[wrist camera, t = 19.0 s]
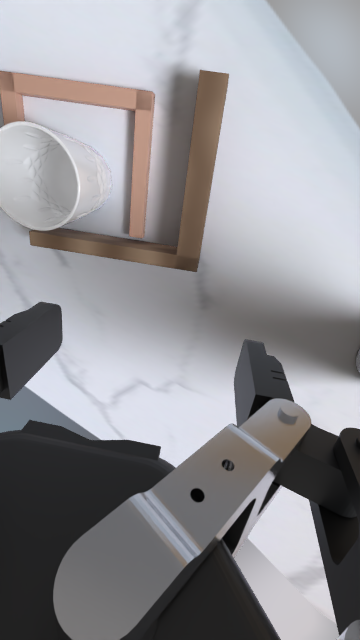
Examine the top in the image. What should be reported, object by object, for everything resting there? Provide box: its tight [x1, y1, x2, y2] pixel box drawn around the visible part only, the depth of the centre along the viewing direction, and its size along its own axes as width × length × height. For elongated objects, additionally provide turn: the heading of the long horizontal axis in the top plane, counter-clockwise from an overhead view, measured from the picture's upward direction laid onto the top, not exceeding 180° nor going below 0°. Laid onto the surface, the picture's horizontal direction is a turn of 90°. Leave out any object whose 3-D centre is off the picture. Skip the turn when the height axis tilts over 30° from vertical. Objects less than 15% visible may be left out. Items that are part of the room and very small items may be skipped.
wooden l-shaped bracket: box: [29, 70, 229, 272], centre depth 30 cm, size 19×17×4 cm
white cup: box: [0, 121, 112, 231], centre depth 28 cm, size 8×8×10 cm
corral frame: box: [0, 71, 155, 238], centre depth 31 cm, size 15×14×1 cm
